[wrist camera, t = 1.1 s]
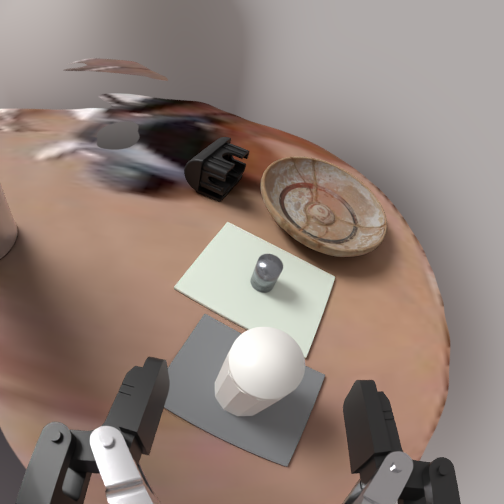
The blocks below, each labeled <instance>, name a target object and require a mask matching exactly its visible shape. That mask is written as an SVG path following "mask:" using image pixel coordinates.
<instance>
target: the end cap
mask: <svg viewBox="0 0 504 504" xmlns="http://www.w3.org/2000/svg"><path fill="white" fill-rule="evenodd" d="M230 141H231V138H228V137H222V138H219V139H218V140H216V141H215V142H213V143H212V144H211V145H209V146H208V147H207V148H206V149H204V150H203V151H202V152H200V153H199V154H198V155H196V156H195V157H194V158H193V159H191V160H190V161H189V162H188V163H187V164H186V166H185V170H184V174H185V178H186V180H187V182H188V183H189V185H190V186H191V187H192V188H194V189H195V190H196V191H197V192H198V193H200V194H202V195H204V196H207V197H209V198H211V199H213V200H216V201H218V202H219V201H222V200H223V199H224V197H225V196H226V195H227V194H228V193H229V192H230V191H231V189H232V188H233V187H234V186H235V185H236V184H237V183H238V182H239V181H240V179H241V178H242V174H243V172H244V170H245V167H246V164H245V163H243V162H240V161H238V160H235V159H234V158H233V156H232V155H234V156H236V157H239V158H241V159H242V158H246V159H247V158H248V155H249V151H248V150H246V149H243V148H241V147H238V146H235V145H233V144H230Z"/></svg>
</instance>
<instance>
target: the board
mask: <svg viewBox="0 0 504 504" xmlns="http://www.w3.org/2000/svg"><path fill="white" fill-rule="evenodd" d="M263 254H273V255H275V256H277V257H278V258H280V260H281V261H282V263H283V270H282V272H281V274H280V276H279V278H278V280H277V282H276V284H275V286H274V287H273V289H272V290H271V291H270V292H267V293H261V292H258V291H256V290H255V289H254V288H253V287H252V285H251V282H250V279H251V276H252V274H253V271H254V269H255V266H256V263H257V261H258V259H259V257H260V256H261V255H263ZM334 279H335V277H334V276H333V275H331V274H329V273H327V272H325V271H323V270H321V269H319V268H317V267H315V266H313V265H311V264H309V263H307V262H306V261H304V260H302V259H300V258H298V257H296V256H294V255H292V254H290V253H288V252H286V251H284V250H282V249H280V248H278V247H276V246H274V245H272V244H270V243H268V242H266V241H265V240H263V239H261V238H259V237H257V236H255V235H253V234H251V233H249V232H247V231H245V230H243V229H241V228H239V227H237V226H235V225H233V224H231V223H229V222H227V223H226V224H225V225H224V227H223V228H222V229H221V230H220V231H219V233H218V234H217V235H216V236H215V237H214V239H213V240H212V241H211V242H210V243H209V245H208V246H207V247H206V248H205V249H204V251H203V252H202V253H201V254H200V256H199V257H198V258H197V259H196V260H195V262H194V263H193V264H192V265H191V267H190V268H189V269H188V270H187V272H186V273H185V274H184V275H183V277H182V278H181V279H180V280H179V281H178V283H177V284H176V285H175V287H174V289H175V290H177V291H178V292H180V293H182V294H184V295H185V296H187V297H189V298H190V299H192V300H194V301H196V302H197V303H199V304H201V305H203V306H204V307H206V308H208V309H210V310H211V311H213V312H215V313H217V314H219V315H220V316H222V317H224V318H226V319H228V320H230V321H231V322H233V323H235V324H237V325H239V326H241V327H243V328H244V329H246V330H249V329H252V328H256V327H272V328H276V329H279V330H281V331H283V332H285V333H287V334H288V335H290V336H291V337H292V338H293V339H294V340H295V341H296V342H297V343H298V345H299V346H300V348H301V350H302V352H303V355H304V359H305V358H306V357H307V354H308V352H309V349H310V347H311V344H312V341H313V339H314V336H315V334H316V331H317V328H318V325H319V323H320V320H321V317H322V314H323V312H324V309H325V306H326V303H327V300H328V297H329V294H330V291H331V288H332V285H333V282H334Z"/></svg>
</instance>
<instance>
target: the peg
mask: <svg viewBox="0 0 504 504" xmlns="http://www.w3.org/2000/svg"><path fill="white" fill-rule="evenodd" d="M282 270H283V263H282V261H281V260H280V258H278V257H277V256H275V255H273V254H263V255H261V256H260V257H259V259H258V261H257V263H256V266H255V269H254V271H253V274H252V276H251V279H250V282H251V285H252V287H253V288H254V289H255V290H256V291H258V292H261V293H267V292H270V291H271V290H272V289H273V287H274V286H275V284H276V282H277V280H278V278H279V276H280V274H281V272H282Z"/></svg>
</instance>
